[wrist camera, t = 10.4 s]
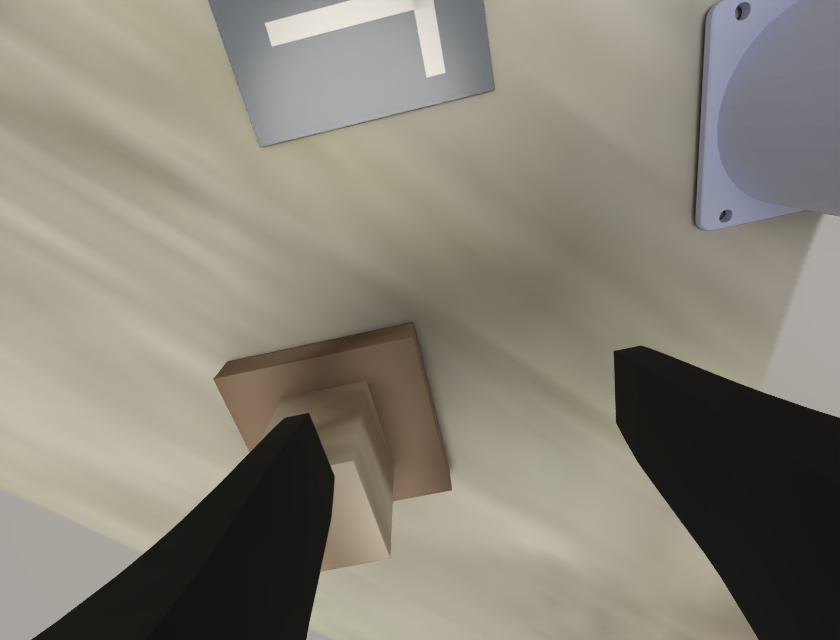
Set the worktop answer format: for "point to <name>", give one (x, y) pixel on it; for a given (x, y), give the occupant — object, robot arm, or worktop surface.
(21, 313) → the worktop surface
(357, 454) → the birch block
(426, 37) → the slate tile
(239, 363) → the walnut board
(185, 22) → the worktop surface
